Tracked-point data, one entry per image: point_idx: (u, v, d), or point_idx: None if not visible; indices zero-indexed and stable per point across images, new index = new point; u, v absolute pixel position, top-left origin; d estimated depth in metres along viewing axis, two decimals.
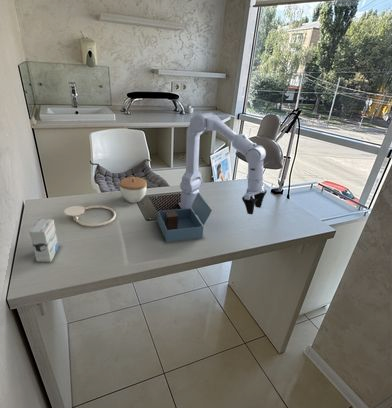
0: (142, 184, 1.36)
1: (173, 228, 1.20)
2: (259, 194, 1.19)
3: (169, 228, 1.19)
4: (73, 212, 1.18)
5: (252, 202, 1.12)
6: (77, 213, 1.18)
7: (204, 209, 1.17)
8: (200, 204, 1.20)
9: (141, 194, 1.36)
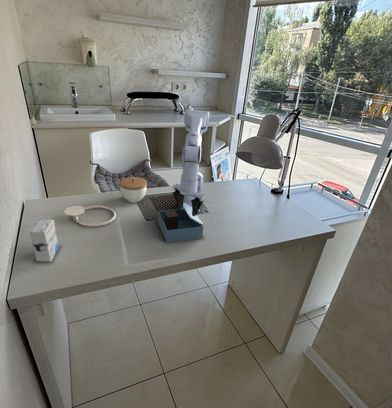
0: (142, 184, 1.36)
1: (173, 228, 1.20)
2: None
3: (169, 228, 1.19)
4: (73, 212, 1.18)
5: None
6: (77, 213, 1.18)
7: None
8: None
9: (141, 194, 1.36)
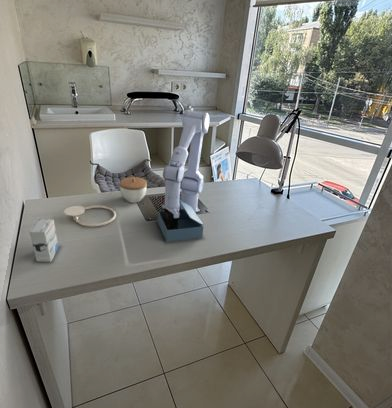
0: (142, 184, 1.36)
1: (173, 228, 1.20)
2: None
3: (169, 228, 1.19)
4: (73, 212, 1.18)
5: None
6: (77, 213, 1.18)
7: None
8: None
9: (141, 194, 1.36)
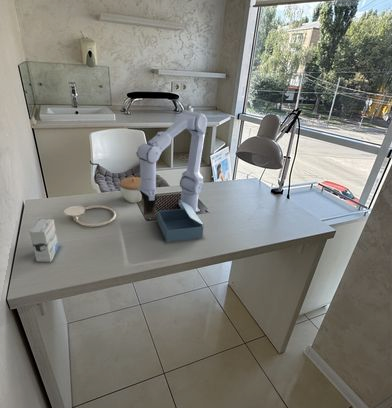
0: None
1: (150, 212, 1.15)
2: None
3: (146, 212, 1.14)
4: (73, 212, 1.18)
5: None
6: (77, 213, 1.18)
7: None
8: None
9: (141, 194, 1.36)
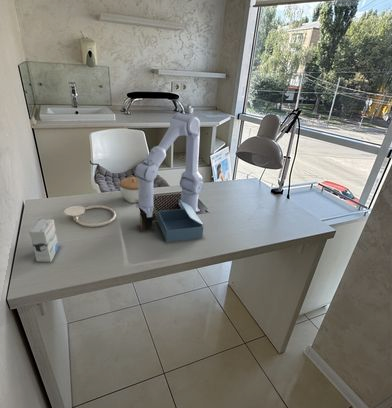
0: None
1: (148, 229, 1.19)
2: None
3: (144, 229, 1.18)
4: (73, 212, 1.18)
5: None
6: (77, 213, 1.18)
7: None
8: None
9: None
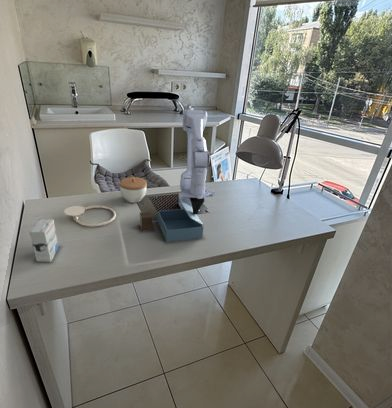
0: (142, 184, 1.36)
1: (148, 229, 1.19)
2: (197, 201, 1.17)
3: (144, 229, 1.18)
4: (73, 212, 1.18)
5: (192, 202, 1.15)
6: (77, 213, 1.18)
7: None
8: None
9: (141, 194, 1.36)
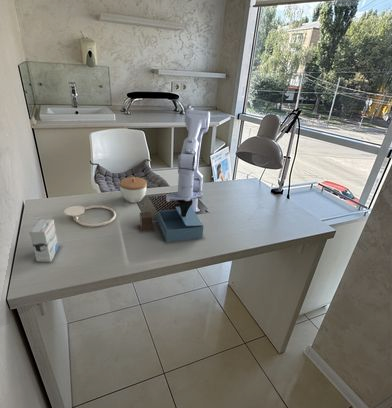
0: (142, 184, 1.36)
1: (148, 229, 1.19)
2: (185, 203, 1.16)
3: (144, 229, 1.18)
4: (73, 212, 1.18)
5: (180, 205, 1.14)
6: (77, 213, 1.18)
7: None
8: None
9: (141, 194, 1.36)
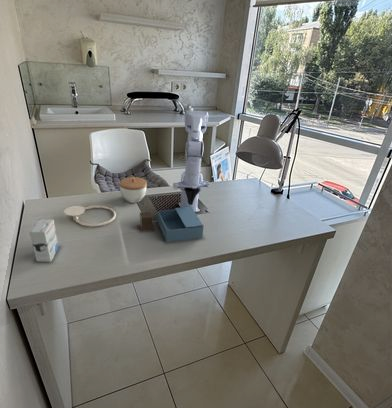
0: (142, 184, 1.36)
1: (148, 229, 1.19)
2: None
3: (144, 229, 1.18)
4: (73, 212, 1.18)
5: (187, 192, 1.15)
6: (77, 213, 1.18)
7: None
8: None
9: (141, 194, 1.36)
